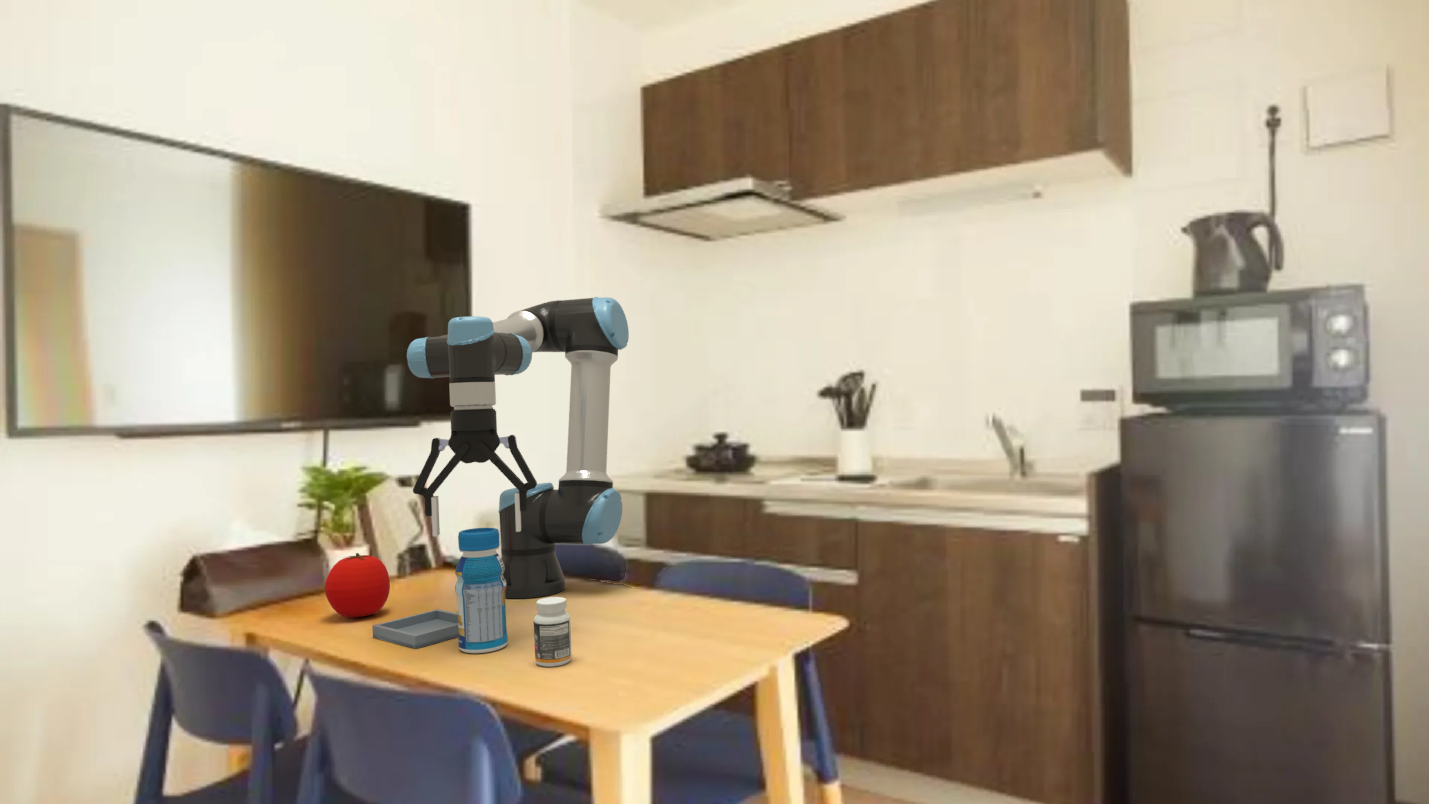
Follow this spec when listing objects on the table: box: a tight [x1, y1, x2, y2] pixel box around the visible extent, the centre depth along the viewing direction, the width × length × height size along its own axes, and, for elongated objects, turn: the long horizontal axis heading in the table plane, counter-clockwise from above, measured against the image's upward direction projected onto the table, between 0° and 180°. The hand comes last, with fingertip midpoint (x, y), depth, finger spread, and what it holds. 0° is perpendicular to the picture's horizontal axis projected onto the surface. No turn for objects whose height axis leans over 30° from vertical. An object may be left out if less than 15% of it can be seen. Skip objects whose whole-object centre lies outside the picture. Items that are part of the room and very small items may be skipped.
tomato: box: [324, 552, 391, 619], centre depth 174 cm, size 12×12×13 cm
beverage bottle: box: [454, 527, 509, 654], centre depth 149 cm, size 8×8×20 cm
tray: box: [372, 608, 459, 650], centre depth 159 cm, size 14×14×2 cm
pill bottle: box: [533, 596, 572, 668], centre depth 139 cm, size 6×6×10 cm
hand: (477, 533), depth 149 cm, fingers open, 13 cm apart
